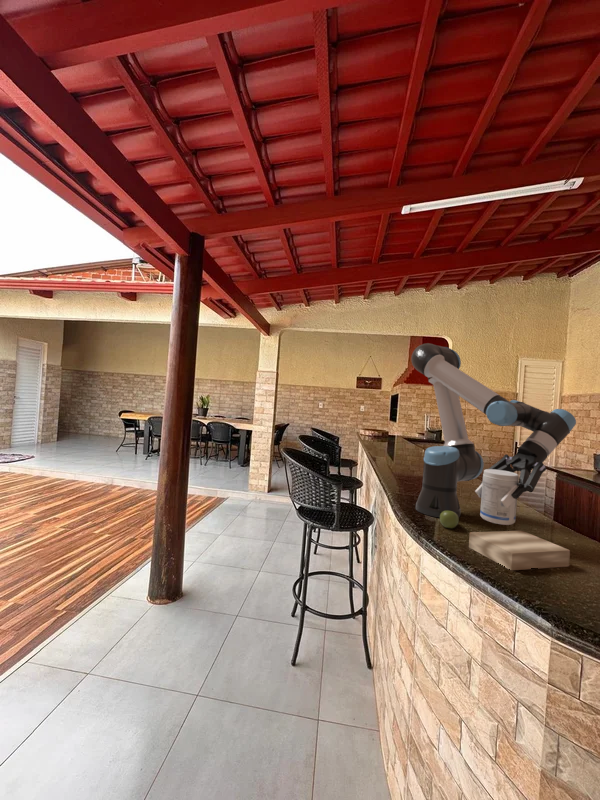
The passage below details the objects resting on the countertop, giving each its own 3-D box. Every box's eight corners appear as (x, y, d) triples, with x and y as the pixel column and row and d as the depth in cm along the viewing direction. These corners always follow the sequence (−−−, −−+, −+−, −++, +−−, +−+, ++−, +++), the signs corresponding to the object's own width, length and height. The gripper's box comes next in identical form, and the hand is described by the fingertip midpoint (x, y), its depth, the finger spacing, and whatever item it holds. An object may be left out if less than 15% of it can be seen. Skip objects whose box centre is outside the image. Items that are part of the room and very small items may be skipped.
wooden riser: (468, 547, 102) (469, 532, 102) (521, 544, 107) (522, 530, 107) (511, 570, 88) (512, 553, 88) (568, 566, 93) (569, 550, 93)
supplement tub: (492, 514, 120) (496, 468, 120) (522, 524, 112) (526, 475, 111) (472, 516, 115) (476, 469, 115) (501, 527, 107) (506, 475, 107)
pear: (440, 509, 117) (440, 507, 126) (439, 527, 116) (439, 524, 125) (459, 512, 115) (458, 510, 124) (458, 530, 114) (457, 527, 123)
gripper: (576, 464, 107) (528, 520, 103) (513, 451, 128) (470, 497, 124) (564, 445, 105) (514, 501, 101) (501, 435, 127) (458, 481, 122)
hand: (490, 499), depth 112 cm, fingers closed on supplement tub, 9 cm apart
